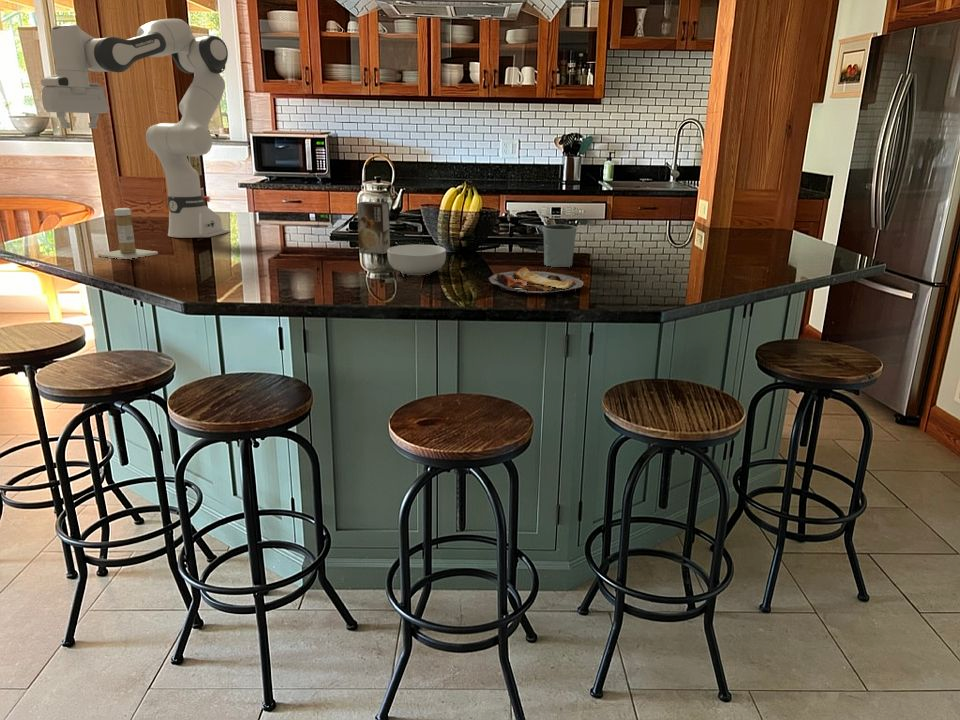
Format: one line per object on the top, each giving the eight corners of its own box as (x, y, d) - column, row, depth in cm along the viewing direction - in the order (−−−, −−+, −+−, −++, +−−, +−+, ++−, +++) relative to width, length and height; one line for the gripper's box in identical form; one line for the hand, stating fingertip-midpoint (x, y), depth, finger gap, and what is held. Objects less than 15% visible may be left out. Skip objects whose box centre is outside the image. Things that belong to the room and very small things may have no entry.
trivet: (130, 250, 231) (129, 248, 231) (158, 254, 226) (157, 251, 226) (97, 256, 220) (97, 253, 220) (126, 260, 216) (125, 257, 216)
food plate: (471, 284, 193) (472, 271, 192) (529, 274, 209) (529, 262, 208) (541, 304, 177) (542, 290, 176) (598, 291, 193) (599, 279, 191)
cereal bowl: (381, 269, 211) (381, 245, 209) (435, 266, 217) (435, 243, 215) (396, 281, 196) (395, 255, 194) (453, 277, 202) (454, 252, 200)
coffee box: (391, 251, 240) (390, 202, 235) (384, 254, 234) (383, 204, 229) (365, 249, 242) (364, 201, 237) (358, 252, 236) (356, 203, 231)
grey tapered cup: (576, 263, 226) (578, 225, 222) (571, 269, 216) (574, 229, 213) (544, 261, 228) (546, 223, 224) (538, 267, 219) (540, 227, 215)
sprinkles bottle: (133, 250, 226) (128, 207, 222) (138, 252, 223) (132, 208, 219) (118, 252, 223) (112, 208, 219) (122, 254, 220) (116, 209, 216)
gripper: (95, 83, 232) (101, 128, 236) (35, 79, 214) (43, 128, 219) (109, 83, 230) (115, 128, 234) (50, 79, 212) (57, 128, 216)
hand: (80, 128), depth 226 cm, fingers open, 8 cm apart
